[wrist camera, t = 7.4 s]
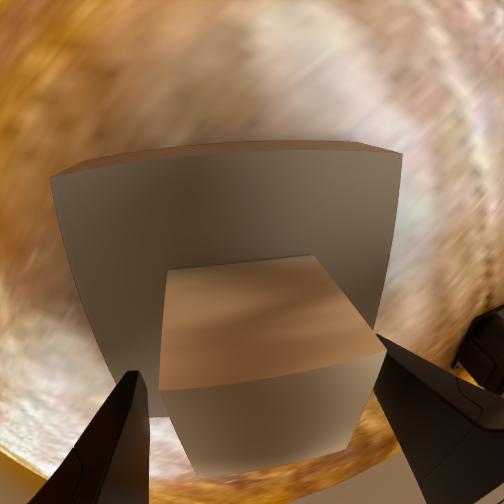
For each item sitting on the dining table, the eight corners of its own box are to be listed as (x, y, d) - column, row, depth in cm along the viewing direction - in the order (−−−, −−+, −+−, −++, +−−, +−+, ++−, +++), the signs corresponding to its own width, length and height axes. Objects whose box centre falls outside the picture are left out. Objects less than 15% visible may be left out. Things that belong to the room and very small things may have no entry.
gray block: (351, 140, 13) (402, 153, 10) (330, 339, 18) (356, 383, 15) (87, 158, 11) (49, 177, 8) (138, 364, 16) (134, 417, 13)
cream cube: (312, 254, 11) (386, 350, 6) (303, 356, 13) (345, 449, 8) (167, 270, 10) (158, 390, 5) (189, 372, 12) (198, 478, 8)
